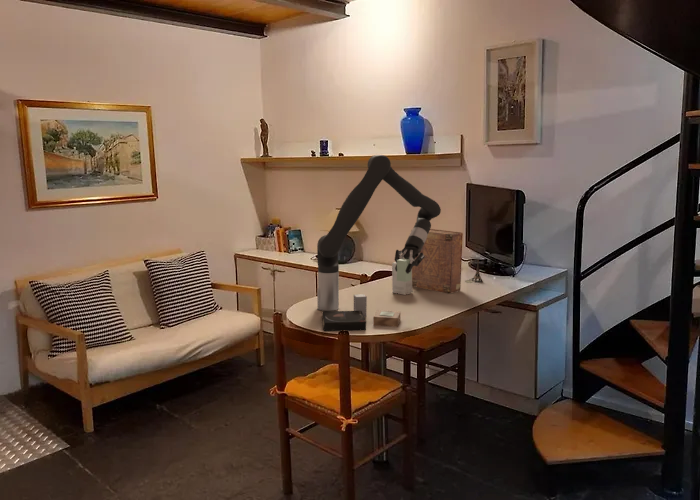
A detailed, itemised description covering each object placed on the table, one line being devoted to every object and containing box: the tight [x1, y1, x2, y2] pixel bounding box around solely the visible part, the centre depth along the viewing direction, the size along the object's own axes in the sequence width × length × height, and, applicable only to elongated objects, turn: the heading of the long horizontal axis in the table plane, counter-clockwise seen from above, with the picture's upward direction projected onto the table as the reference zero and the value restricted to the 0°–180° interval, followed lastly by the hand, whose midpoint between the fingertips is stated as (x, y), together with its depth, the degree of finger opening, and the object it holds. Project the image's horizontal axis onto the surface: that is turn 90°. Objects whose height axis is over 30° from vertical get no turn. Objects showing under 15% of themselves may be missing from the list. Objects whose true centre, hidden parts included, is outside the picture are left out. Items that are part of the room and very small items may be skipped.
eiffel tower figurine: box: [465, 259, 484, 285], centre depth 328 cm, size 15×10×13 cm
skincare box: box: [391, 261, 413, 296], centre depth 300 cm, size 8×7×16 cm
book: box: [410, 228, 464, 294], centre depth 309 cm, size 25×9×30 cm, turn 47°
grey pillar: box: [353, 293, 368, 318], centre depth 260 cm, size 4×4×9 cm
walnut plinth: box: [372, 309, 401, 328], centre depth 251 cm, size 10×10×4 cm
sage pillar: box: [397, 259, 411, 282], centre depth 258 cm, size 4×4×9 cm
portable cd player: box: [321, 310, 367, 332], centre depth 247 cm, size 16×17×4 cm
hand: (401, 271), depth 257 cm, fingers closed on sage pillar, 4 cm apart
